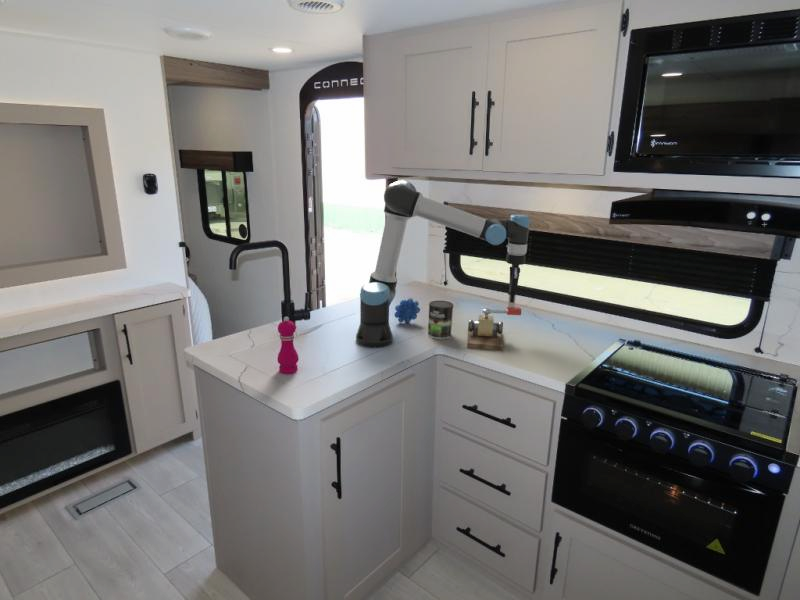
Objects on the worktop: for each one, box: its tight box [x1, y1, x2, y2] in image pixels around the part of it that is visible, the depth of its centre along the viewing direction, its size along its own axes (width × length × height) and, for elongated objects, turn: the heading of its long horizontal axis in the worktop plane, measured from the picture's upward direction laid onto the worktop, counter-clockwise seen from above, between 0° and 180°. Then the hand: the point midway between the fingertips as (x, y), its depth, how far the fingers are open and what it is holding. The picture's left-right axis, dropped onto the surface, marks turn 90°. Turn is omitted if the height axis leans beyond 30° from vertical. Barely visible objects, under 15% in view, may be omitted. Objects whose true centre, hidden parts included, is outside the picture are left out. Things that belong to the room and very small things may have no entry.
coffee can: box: [427, 300, 454, 340], centre depth 207 cm, size 10×10×14 cm
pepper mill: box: [276, 316, 300, 375], centre depth 169 cm, size 7×7×20 cm
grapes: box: [394, 297, 421, 324], centre depth 222 cm, size 12×7×12 cm, turn 90°
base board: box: [466, 330, 504, 351], centre depth 204 cm, size 14×20×2 cm
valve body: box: [467, 313, 504, 338], centre depth 203 cm, size 14×6×10 cm, turn 81°
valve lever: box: [482, 306, 522, 316], centre depth 201 cm, size 16×3×2 cm, turn 90°
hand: (510, 309), depth 203 cm, fingers closed
